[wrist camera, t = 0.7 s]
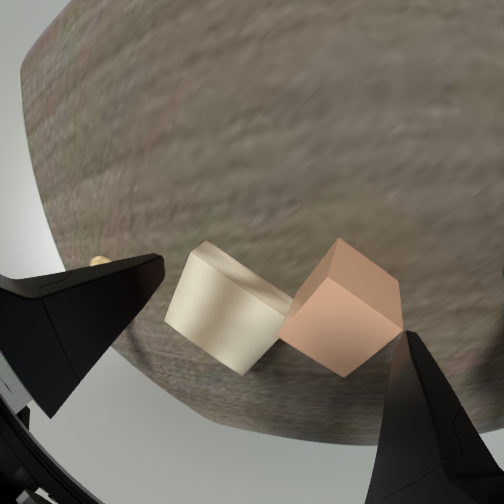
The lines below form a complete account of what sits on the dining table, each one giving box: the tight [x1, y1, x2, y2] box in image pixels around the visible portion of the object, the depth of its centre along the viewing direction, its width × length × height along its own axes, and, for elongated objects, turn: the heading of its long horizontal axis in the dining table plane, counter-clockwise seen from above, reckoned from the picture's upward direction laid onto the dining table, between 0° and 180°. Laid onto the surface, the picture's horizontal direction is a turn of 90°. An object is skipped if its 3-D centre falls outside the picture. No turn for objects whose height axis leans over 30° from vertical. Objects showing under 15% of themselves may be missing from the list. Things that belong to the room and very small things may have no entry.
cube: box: [276, 238, 403, 378], centre depth 19 cm, size 6×6×6 cm
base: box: [164, 240, 293, 376], centre depth 26 cm, size 10×10×3 cm
